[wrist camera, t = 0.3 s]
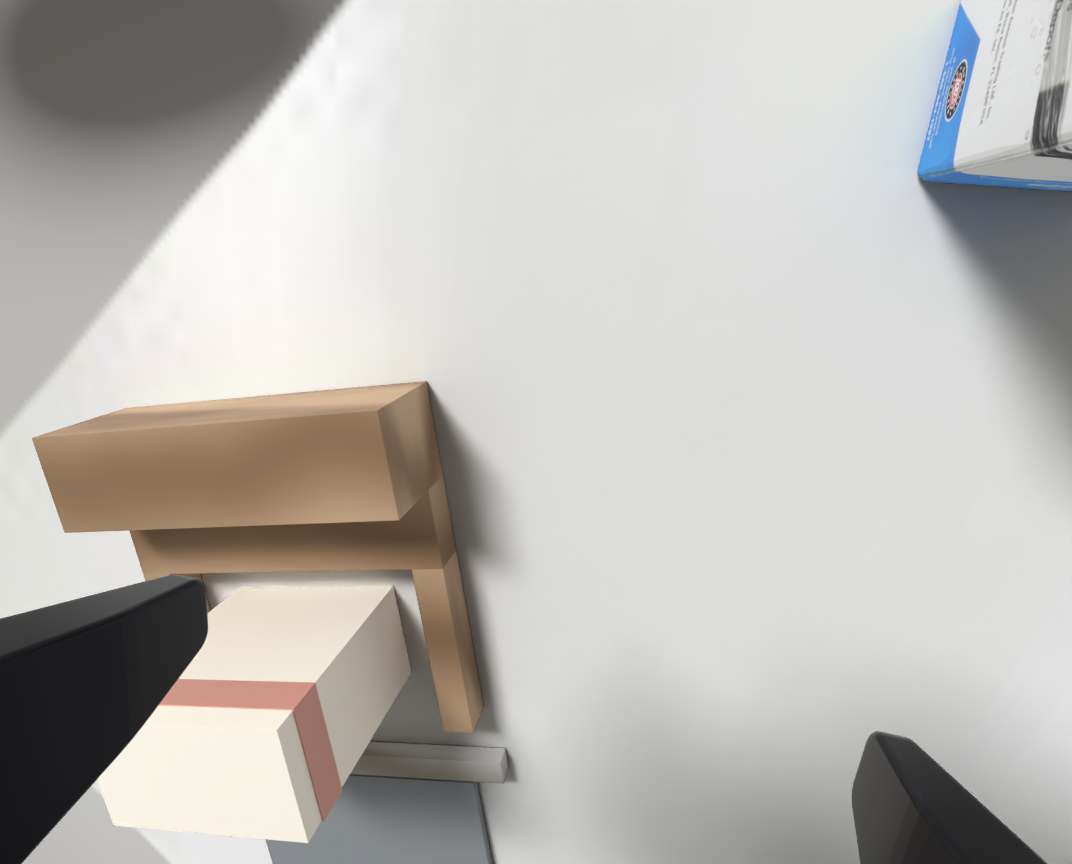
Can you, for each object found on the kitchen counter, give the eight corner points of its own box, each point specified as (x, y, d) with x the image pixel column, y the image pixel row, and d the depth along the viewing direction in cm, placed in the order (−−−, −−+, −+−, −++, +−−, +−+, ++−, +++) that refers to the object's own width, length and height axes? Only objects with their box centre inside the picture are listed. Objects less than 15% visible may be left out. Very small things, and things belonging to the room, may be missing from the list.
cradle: (508, 768, 27) (481, 853, 23) (219, 751, 30) (154, 824, 27) (442, 380, 23) (395, 408, 19) (113, 409, 26) (17, 439, 22)
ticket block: (412, 673, 27) (310, 844, 19) (261, 670, 28) (113, 826, 21) (394, 584, 26) (277, 728, 18) (238, 585, 27) (73, 719, 20)
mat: (502, 919, 30) (500, 928, 29) (289, 895, 32) (284, 903, 32) (476, 775, 28) (473, 783, 27) (249, 762, 30) (244, 768, 30)
